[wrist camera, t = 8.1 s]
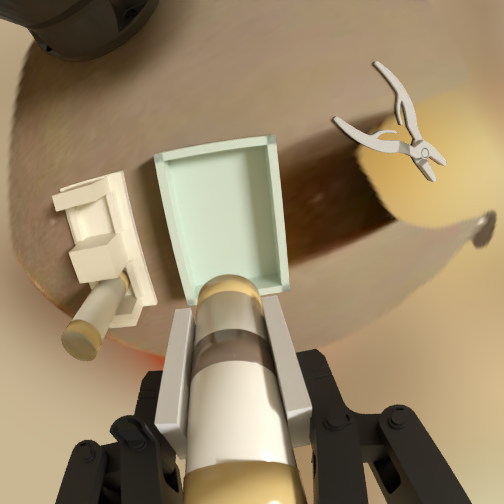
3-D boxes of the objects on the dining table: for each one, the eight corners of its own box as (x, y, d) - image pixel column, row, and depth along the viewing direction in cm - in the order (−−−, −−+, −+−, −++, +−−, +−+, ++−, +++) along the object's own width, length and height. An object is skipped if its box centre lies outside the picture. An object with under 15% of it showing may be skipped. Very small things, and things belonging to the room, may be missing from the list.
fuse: (99, 268, 31) (55, 331, 20) (125, 264, 31) (86, 329, 20) (108, 294, 32) (72, 361, 21) (133, 291, 32) (102, 361, 21)
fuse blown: (191, 279, 15) (163, 515, 4) (256, 269, 15) (313, 504, 4) (204, 330, 17) (201, 535, 6) (263, 321, 17) (307, 525, 6)
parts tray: (161, 151, 27) (153, 154, 24) (269, 134, 28) (275, 135, 24) (190, 289, 34) (188, 305, 30) (283, 275, 34) (289, 290, 31)
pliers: (381, 58, 24) (458, 144, 28) (374, 60, 25) (450, 143, 29) (335, 121, 26) (422, 203, 31) (330, 121, 28) (415, 199, 32)
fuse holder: (63, 187, 27) (40, 198, 22) (123, 170, 27) (105, 178, 23) (102, 307, 34) (89, 330, 29) (157, 301, 34) (149, 325, 29)
